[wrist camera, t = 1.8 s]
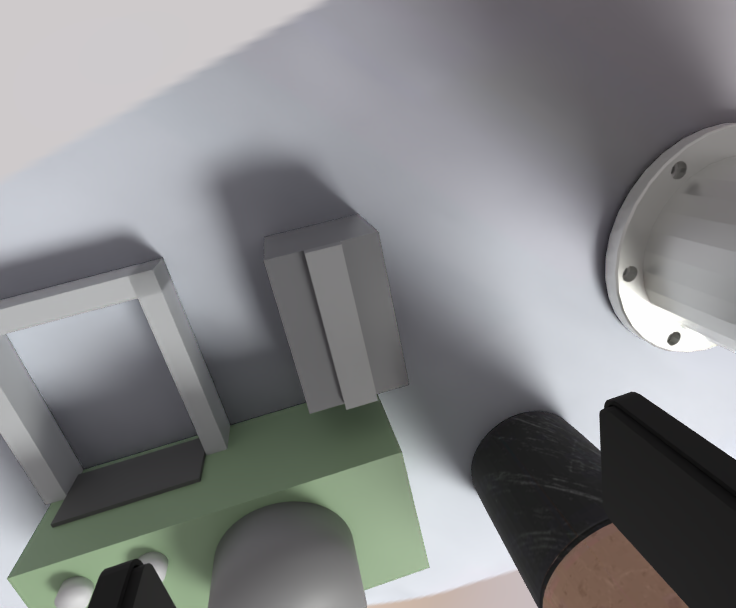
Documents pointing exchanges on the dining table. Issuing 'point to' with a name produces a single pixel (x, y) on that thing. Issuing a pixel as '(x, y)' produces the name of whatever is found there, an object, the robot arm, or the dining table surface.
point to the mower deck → (206, 482)
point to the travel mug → (561, 518)
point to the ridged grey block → (336, 311)
